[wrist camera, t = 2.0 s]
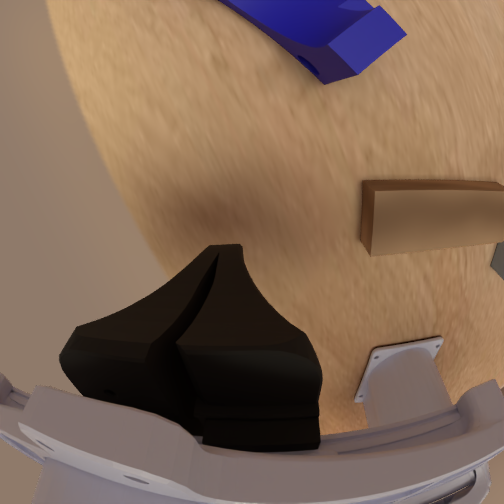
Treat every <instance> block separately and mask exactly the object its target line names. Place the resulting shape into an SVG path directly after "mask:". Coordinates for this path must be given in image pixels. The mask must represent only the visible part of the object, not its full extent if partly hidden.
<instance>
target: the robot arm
mask: <svg viewBox="0 0 504 504" xmlns="http://www.w3.org/2000/svg"><path fill="white" fill-rule="evenodd" d="M442 343H443V338H442V337H436V338H432V339H427V340H421V341H416V342H411V343H405V344H399V345H393V346H387V347H380V348H376V349H374V350H373V351H372V353H371V356H370V359H369V362H368V365H367V368H366V370H365V373H364V376H363V378H362V381H361V383H360V386H359V389H358V391H357V394H356V396H355V398H354V400H355V402H356V403H358V402H363V404H364V409H365V413H366V418H367V423H368V428H367V429H362V430H356V431H350V432H344V433H336V434H328V435H320V428H319V418H318V417H319V403H318V400H319V395H320V391H321V386H322V380H323V377H322V370H321V366H320V363H319V360H318V358H317V355H316V353H315V351H314V348H313V346H312V344H311V342H310V340H309V339H308V337H307V335H306V333H304V332H303V331H301V330H300V329H298V328H297V327H295V326H294V325H292V324H291V323H289V322H288V321H287V320H286V319H285V318H284V317H282V316H281V315H280V314H279V313H278V312H277V311H276V310H275V309H274V308H273V307H272V306H271V305H270V304H269V303H268V302H267V300H266V299H265V298H264V297H263V295H262V294H261V293H260V291H259V290H258V288H257V287H256V285H255V284H254V282H253V280H252V278H251V277H250V275H249V273H248V271H247V268H246V266H245V263H244V258H243V248H242V246H241V245H240V244H227V245H209V246H208V247H207V248H206V249H205V250H203V251H202V252H201V253H200V254H199V255H198V256H197V257H196V258H195V259H194V260H193V261H192V262H191V263H190V264H189V265H187V266H186V267H185V268H184V269H183V270H182V271H181V272H179V273H178V274H177V275H176V276H175V277H173V278H172V279H171V280H170V281H168V282H167V283H166V284H165V285H163V286H162V287H160V288H159V289H158V290H156V291H154V292H153V293H151V294H150V295H148V296H147V297H145V298H143V299H141V300H139V301H138V302H136V303H134V304H132V305H131V306H129V307H127V308H125V309H122V310H120V311H118V312H116V313H114V314H111V315H109V316H107V317H104V318H101V319H99V320H96V321H93V322H90V323H87V324H84V325H81V326H77V327H76V328H75V330H74V332H73V333H72V335H71V337H70V338H69V340H68V342H67V343H66V345H65V347H64V348H63V350H62V352H61V354H60V355H59V361H60V364H61V367H62V370H63V371H64V373H65V374H66V376H67V377H68V378H69V380H70V381H71V382H72V383H73V385H74V386H75V387H76V388H77V389H78V391H79V392H80V393H81V394H82V395H83V396H80V395H76V394H73V393H70V392H66V391H63V390H60V389H57V388H54V387H50V386H43V385H39V386H36V387H35V388H34V390H33V392H32V394H31V395H30V394H29V393H26V392H24V391H22V390H19V389H17V388H15V387H13V386H12V384H11V383H10V381H9V380H8V379H7V378H6V377H5V376H4V375H3V374H2V373H0V438H1V439H3V440H4V441H5V442H7V443H8V444H10V445H11V446H12V447H14V448H15V449H17V450H18V451H20V452H22V453H23V454H25V455H26V456H28V457H29V458H31V459H33V460H34V461H36V462H38V463H39V464H41V465H43V468H42V471H41V474H40V477H39V480H38V483H37V487H36V489H35V493H34V497H33V500H32V503H31V504H429V503H432V502H434V501H436V500H439V499H441V498H443V497H445V496H448V495H449V494H452V493H454V492H456V491H458V490H460V489H462V488H464V487H466V486H467V487H466V488H464V489H462V490H461V491H458V492H457V493H455V494H452V495H450V496H448V497H446V498H444V499H441V500H439V501H437V502H434V503H432V504H481V502H482V501H483V500H484V498H485V497H486V496H487V494H488V493H489V490H490V485H491V477H490V473H489V464H488V461H489V460H491V459H492V458H493V457H495V456H496V455H498V454H499V453H500V452H502V451H503V450H504V397H503V395H502V392H501V390H500V388H499V386H498V384H497V382H496V380H495V379H492V380H490V381H487V382H485V383H482V384H480V385H478V386H475V387H473V388H471V389H469V390H468V391H467V392H465V393H464V394H463V395H462V396H461V397H460V399H459V400H458V402H457V404H455V405H453V404H452V402H451V399H450V397H449V394H448V392H447V389H446V387H445V385H444V382H443V380H442V378H441V375H440V373H439V371H438V369H437V366H436V364H435V362H434V358H435V356H436V354H437V352H438V351H439V349H440V347H441V345H442ZM468 485H469V486H468Z"/></svg>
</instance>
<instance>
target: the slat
mask: <svg viewBox="0 0 504 504" xmlns="http://www.w3.org/2000/svg"><path fill="white" fill-rule="evenodd" d="M360 240H361V242H362V243H363V245H364V247H365V248H366V250H367V252H368V253H369V255H370V257H372V256H382V255H392V254H402V253H411V252H421V251H430V250H439V249H448V248H457V247H466V246H474V245H483V244H491V243H499V242H503V241H504V186H503V185H501V184H499V183H497V182H484V181H463V180H364V181H363V187H362V221H361V239H360Z"/></svg>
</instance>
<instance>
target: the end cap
mask: <svg viewBox="0 0 504 504" xmlns="http://www.w3.org/2000/svg"><path fill="white" fill-rule="evenodd" d="M491 267H492V268H493V269H494V270H495V271H496V272H497V273H498V275H499V276H500V277H501V278H502V279H503V280H504V241H503V242H499V243H498V244H497V248H496V251H495V254H494V257H493V260H492V263H491Z"/></svg>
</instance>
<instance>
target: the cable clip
mask: <svg viewBox="0 0 504 504" xmlns="http://www.w3.org/2000/svg"><path fill="white" fill-rule="evenodd" d="M218 1H220V2H222V3H223V4H225V5H226V6H228V7H229V8H231V9H232V10H234V11H235V12H237V13H238V14H240V15H241V16H243V17H244V18H246V19H247V20H248V21H250V22H251V23H253V24H254V25H255V26H257V27H258V28H259V29H261V30H262V31H263V32H265V33H266V34H267V35H268V36H270V37H271V38H272V39H273V40H275V41H276V42H277V43H278V44H280V45H281V46H282V47H283V48H284V49H286V50H287V51H288V52H289V53H290V54H292V55H293V56H294V57H295V58H296V59H297V60H298V61H300V62H301V63H302V64H303V65H304V66H305V67H306V68H307V69H308V70H309V71H310V72H312V73H313V74H314V75H315V76H316V77H317V78H318V79H319V80H320V81H321V82H322V83H323V84H324V85H325V84H328V83H332V82H335V81H338V80H342V79H345V78H348V77H352V76H356V75H358V74H359V73H361V72H362V71H363V70H364V69H365V68H367V67H368V66H369V65H370V64H371V63H372V62H374V61H375V60H376V59H377V58H378V57H380V56H381V55H382V54H383V53H385V52H386V51H387V50H388V49H389V48H391V47H392V46H393V45H394V44H396V43H397V42H398V41H399V40H401V39H402V38H403V37H405V36H406V35H407V34H406V33H405V32H404V31H403V29H402V28H401V27H400V26H399V25H398V24H397V23H396V22H395V21H394V20H393V19H392V18H391V16H390V15H389V14H388V13H387V12H386V11H385V10H384V9H383V8H382V7H381V6H380V5H379V6H377V7H376V8H373V7H372V6H371V5H370V4H369V3H368V2H367V1H366V0H218Z"/></svg>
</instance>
